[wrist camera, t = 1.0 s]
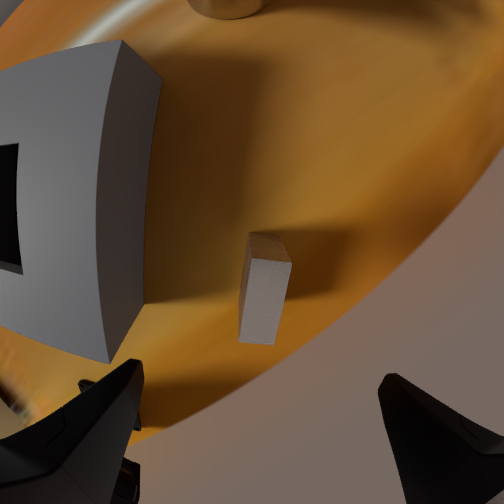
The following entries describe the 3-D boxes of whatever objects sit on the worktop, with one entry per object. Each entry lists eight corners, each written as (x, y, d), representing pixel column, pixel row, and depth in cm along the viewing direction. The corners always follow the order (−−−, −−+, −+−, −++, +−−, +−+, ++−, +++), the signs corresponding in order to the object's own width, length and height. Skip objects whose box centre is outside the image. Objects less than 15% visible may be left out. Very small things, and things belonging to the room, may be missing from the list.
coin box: (143, 304, 19) (109, 364, 13) (15, 275, 18) (-31, 309, 12) (162, 79, 14) (122, 39, 8) (17, 97, 13) (-40, 90, 7)
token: (266, 302, 20) (273, 345, 15) (238, 299, 20) (238, 341, 15) (278, 236, 18) (292, 263, 13) (248, 231, 18) (252, 257, 13)
